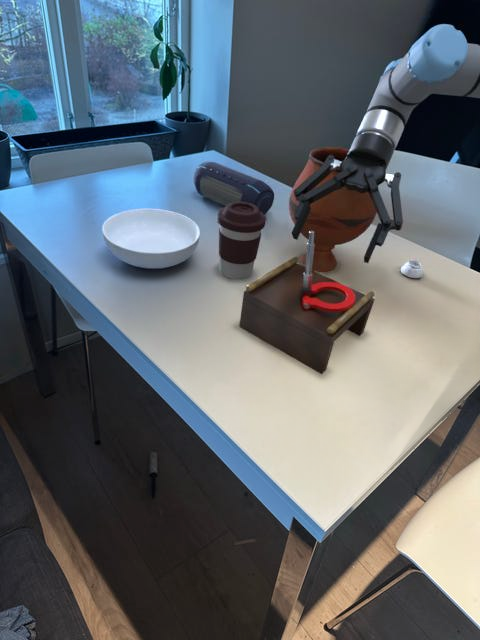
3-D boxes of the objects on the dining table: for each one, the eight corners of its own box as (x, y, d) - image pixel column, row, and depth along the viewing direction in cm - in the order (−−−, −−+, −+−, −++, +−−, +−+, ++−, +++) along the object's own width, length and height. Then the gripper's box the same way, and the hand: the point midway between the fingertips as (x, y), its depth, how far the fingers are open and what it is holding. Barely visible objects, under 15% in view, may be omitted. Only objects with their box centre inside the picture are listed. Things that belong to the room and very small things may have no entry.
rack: (363, 332, 86) (377, 291, 80) (321, 375, 75) (334, 331, 70) (286, 294, 94) (294, 254, 88) (238, 327, 83) (244, 284, 78)
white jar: (399, 266, 109) (400, 276, 105) (403, 256, 107) (404, 266, 103) (420, 271, 108) (422, 281, 104) (424, 260, 107) (426, 270, 103)
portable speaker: (186, 195, 130) (187, 161, 124) (210, 188, 137) (212, 155, 131) (253, 226, 119) (257, 189, 113) (275, 216, 125) (280, 181, 119)
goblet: (292, 286, 97) (315, 172, 82) (270, 244, 111) (286, 141, 96) (372, 284, 101) (409, 175, 86) (340, 243, 116) (367, 144, 101)
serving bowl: (115, 287, 90) (113, 257, 85) (96, 239, 104) (94, 211, 100) (212, 273, 98) (214, 245, 93) (182, 231, 112) (182, 205, 108)
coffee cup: (233, 288, 94) (240, 222, 85) (204, 267, 99) (208, 203, 90) (266, 275, 99) (277, 212, 90) (237, 256, 105) (244, 195, 96)
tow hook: (351, 287, 81) (300, 286, 82) (362, 221, 74) (305, 220, 74) (357, 314, 75) (302, 313, 75) (370, 245, 67) (308, 243, 67)
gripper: (441, 172, 81) (397, 277, 79) (313, 140, 89) (270, 235, 87) (448, 148, 74) (400, 263, 72) (309, 116, 82) (262, 219, 80)
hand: (329, 248), depth 79 cm, fingers open, 13 cm apart
